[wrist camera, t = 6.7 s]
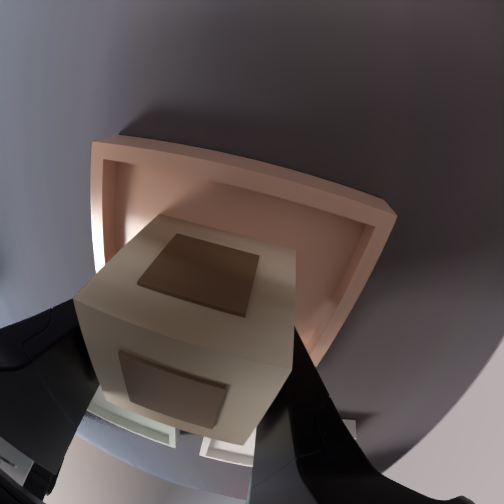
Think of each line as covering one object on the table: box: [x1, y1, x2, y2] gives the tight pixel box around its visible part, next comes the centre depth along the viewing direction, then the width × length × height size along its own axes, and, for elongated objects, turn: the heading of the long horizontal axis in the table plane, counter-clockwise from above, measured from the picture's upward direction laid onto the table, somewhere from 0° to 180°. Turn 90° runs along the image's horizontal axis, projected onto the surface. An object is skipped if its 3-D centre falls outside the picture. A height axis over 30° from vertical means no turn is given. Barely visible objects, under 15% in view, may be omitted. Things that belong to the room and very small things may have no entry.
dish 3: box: [199, 419, 356, 467], centre depth 16 cm, size 9×9×1 cm
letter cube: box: [73, 214, 296, 446], centre depth 8 cm, size 4×5×5 cm
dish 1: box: [86, 385, 180, 448], centre depth 16 cm, size 9×9×1 cm
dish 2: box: [91, 135, 398, 367], centre depth 10 cm, size 9×9×1 cm
